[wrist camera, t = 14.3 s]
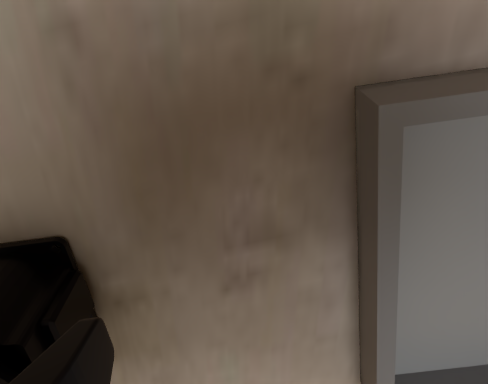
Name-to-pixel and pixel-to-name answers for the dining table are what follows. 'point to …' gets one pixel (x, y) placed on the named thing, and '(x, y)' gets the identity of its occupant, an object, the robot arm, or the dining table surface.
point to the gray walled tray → (423, 229)
